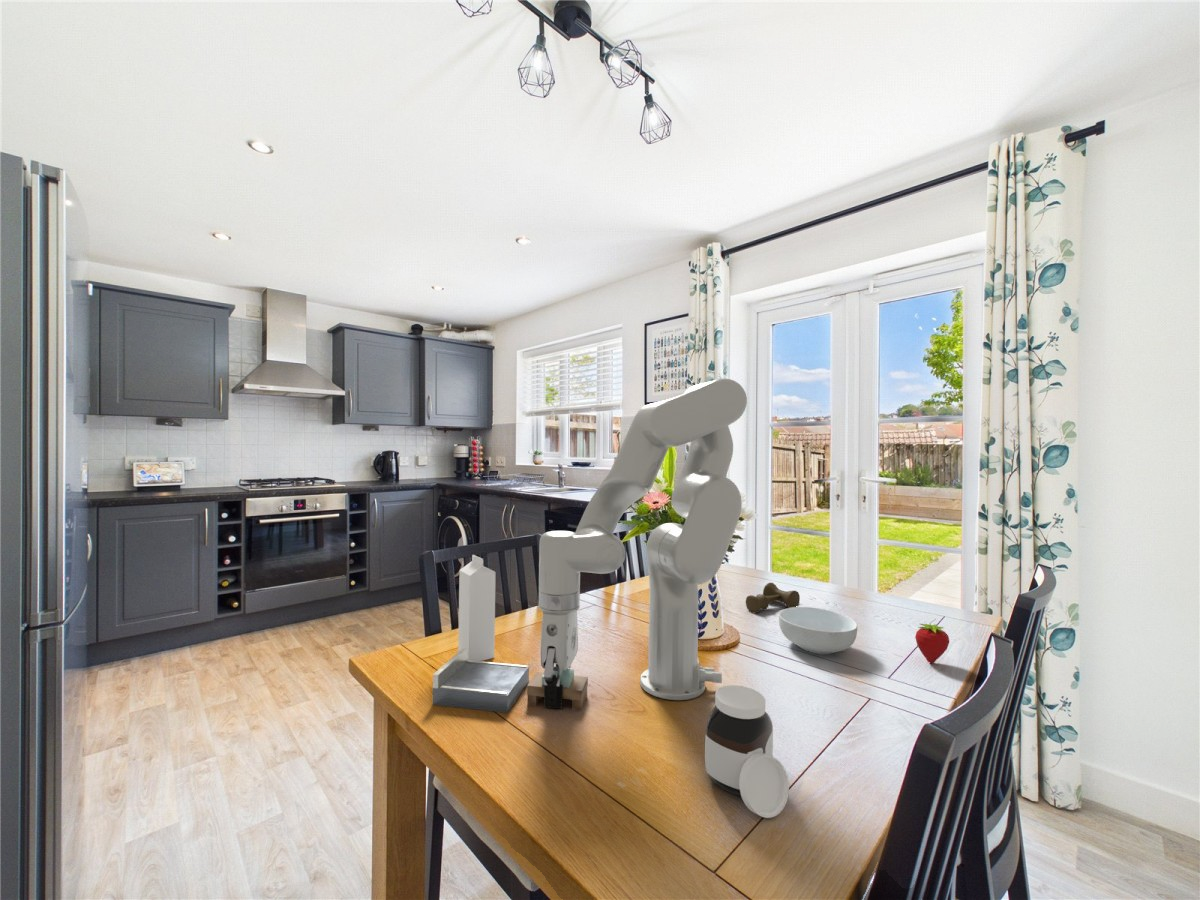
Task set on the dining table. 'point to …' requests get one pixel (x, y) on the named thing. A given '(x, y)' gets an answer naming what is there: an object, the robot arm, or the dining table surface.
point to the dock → (478, 684)
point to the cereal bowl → (817, 629)
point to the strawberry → (932, 641)
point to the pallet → (574, 692)
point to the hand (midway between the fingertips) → (557, 697)
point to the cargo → (563, 677)
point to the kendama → (772, 598)
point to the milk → (477, 610)
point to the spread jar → (745, 751)
